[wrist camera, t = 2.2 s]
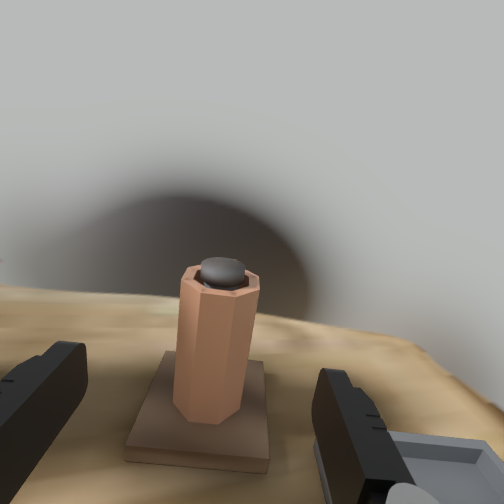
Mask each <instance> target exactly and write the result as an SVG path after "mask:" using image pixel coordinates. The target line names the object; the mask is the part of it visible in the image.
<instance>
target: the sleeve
mask: <svg viewBox="0 0 504 504" xmlns="http://www.w3.org/2000/svg"><path fill="white" fill-rule="evenodd" d="M233 260H234V259H233ZM236 261H237V260H236ZM200 274H201V265H198V266H192V267H188V268H187V270H186V272H185V274H184V276H183V277H182V279H181V291H180V305H179V319H178V333H177V347H176V361H175V375H174V389H173V403H174V405H175V406H176V407H177V408H178V410H179V411H180V412H181V413H182V415H183V416H184V417H185V418H186V419H187V421H188V422H196V423H206V424H216V425H218V424H220V423H221V422H222V421H224V420H225V419H227V418H228V417H229V416H231V415H232V414H234V413H235V412H236V411H238V410H239V409H240V404H241V398H242V392H243V386H244V380H245V374H246V368H247V362H248V356H249V350H250V344H251V338H252V332H253V326H254V320H255V314H256V308H257V302H258V296H259V290H260V289H259V276H257V275H255V274H253V273H251V272H249V271H247V270H245V275H244V282H243V283H242V284H241V285H239V289H238V290H234V291H225V290H217V289H210V288H206V287H205V286H204V281H202V280H201V278H200Z"/></svg>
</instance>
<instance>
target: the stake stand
mask: <svg viewBox="0 0 504 504" xmlns="http://www.w3.org/2000/svg"><path fill="white" fill-rule="evenodd" d="M244 275H245V265H244V264H242V263H241V262H239V261H236V260H233V259H229V258H221V257H215V258H208V259H205V260H204V261H202V263H201V274H200V278H201V280H202V281H204V286H205V287H206V288H210V289H217V290H225V291H234V290H238V289H239V285H241V284H242V283H243V282H244ZM175 361H176V352H174V351H165V354H164V356H163V358H162V361H161V363H160V365H159V368H158V370H157V372H156V374H155V377H154V379H153V381H152V384H151V386H150V388H149V391H148V393H147V395H146V397H145V400H144V402H143V404H142V407H141V409H140V411H139V414H138V416H137V418H136V420H135V423H134V425H133V427H132V430H131V432H130V434H129V437H128V439H127V441H126V444H125V461H131V462H142V463H152V464H163V465H174V466H185V467H196V468H207V469H218V470H229V471H240V472H251V473H262V474H266V473H267V469H268V464H269V460H270V457H269V442H268V427H267V412H266V398H265V383H264V368H263V361H254V360H248V362H247V368H246V374H245V380H244V386H243V392H242V398H241V404H240V409H239V410H238V411H236V412H235V413H234V414H232V415H231V416H229V417H228V418H227V419H225V420H224V421H222V422H221V423H220V424H218V425H216V424H206V423H196V422H188V421H187V419H186V418H185V417H184V416H183V415H182V413H181V412H180V411H179V410H178V408H177V407H176V406H175V405H174V403H173V389H174V375H175Z"/></svg>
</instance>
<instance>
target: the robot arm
mask: <svg viewBox="0 0 504 504" xmlns="http://www.w3.org/2000/svg"><path fill="white" fill-rule="evenodd" d="M87 384H88V373H87V354H86V346H85V344H84V343H77V342H67V341H58V342H56V343H55V344H53V345H52V346H51V347H50V348H49V349H48V350H47V351H46V352H45V353H44V354H43V355H42V356H38V355H36V356H34V357H32V358H30V359H28V360H27V361H25V362H23V363H21V364H19V365H17V366H16V367H15V368H14V369H13V370H11V371H10V372H9V373H8V374H7V375H6V376H5V377H3V378H2V379H1V382H0V504H9V503H10V502H11V501H12V499H13V498H14V496H15V495H16V493H17V492H18V491H19V489H20V488H21V486H22V485H23V483H24V482H25V481H26V479H27V478H28V476H29V475H30V473H31V472H32V471H33V469H34V468H35V466H36V465H37V464H38V462H39V461H40V459H41V458H42V456H43V455H44V454H45V452H46V451H47V449H48V448H49V446H50V445H51V444H52V442H53V441H54V439H55V438H56V436H57V435H58V434H59V432H60V431H61V429H62V428H63V426H64V425H65V424H66V422H67V421H68V419H69V418H70V416H71V415H72V414H73V412H74V411H75V409H76V408H77V407H78V405H79V404H80V402H81V401H82V399H83V397H84V395H85V392H86V389H87ZM312 422H313V427H314V431H315V435H316V439H317V443H318V447H319V451H320V455H321V459H322V463H323V467H324V471H325V475H326V479H327V483H328V488H329V492H330V496H331V500H332V504H440V503H439V502H438V501H437V500H436V499H435V498H434V497H433V496H431V495H430V494H429V493H427V492H426V491H425V490H423V489H421V488H419V487H417V485H416V483H415V481H414V479H413V478H412V476H411V474H410V472H409V470H408V468H407V466H406V464H405V462H404V460H403V458H402V456H401V454H400V453H399V451H398V449H397V447H396V445H395V443H394V441H393V439H392V437H391V435H390V433H389V432H387V428H386V426H385V424H384V422H383V420H382V419H381V418H380V414H379V412H378V410H377V408H376V406H375V405H374V403H373V401H372V400H371V399H370V398H369V397H368V396H367V395H366V394H365V392H364V391H363V390H362V389H361V388H356V387H353V386H352V384H351V382H350V380H349V378H348V375H347V373H346V372H345V371H344V370H337V369H327V368H322V369H321V370H320V373H319V377H318V381H317V386H316V390H315V394H314V398H313V402H312Z"/></svg>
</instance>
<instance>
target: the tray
mask: <svg viewBox="0 0 504 504" xmlns="http://www.w3.org/2000/svg"><path fill="white" fill-rule="evenodd" d="M387 432H389V433H390V435H391V437H392V439H393V441H394V443H395V445H396V447H397V449H398V451H399V453H400V454H401V456H402V458H403V460H404V462H405V464H406V466H407V468H408V470H409V472H410V474H411V476H412V478H413V479H414V481H415V483H416V485H417V487H419V488H421V489H423V490H425V491H426V492H427V493H429V494H430V495H431V496H433V497H434V498H435V499H436V500H437V501H438V502H439V503H440V504H504V463H503V462H502V460H501V459H500V458H499V457H498V456H497V454H496V453H495V452H494V451H493V450H492V448H491V447H490V446H489V445H488V444H487V442H486V441H483V440H473V439H463V438H453V437H444V436H434V435H424V434H414V433H405V432H395V431H387ZM314 451H315V455H316V460H317V464H318V469H319V473H320V478H321V482H322V487H323V491H324V496H325V500H326V504H332V500H331V496H330V492H329V488H328V483H327V479H326V475H325V471H324V467H323V463H322V459H321V455H320V451H319V447H318V443H317V439H315V443H314Z"/></svg>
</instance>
